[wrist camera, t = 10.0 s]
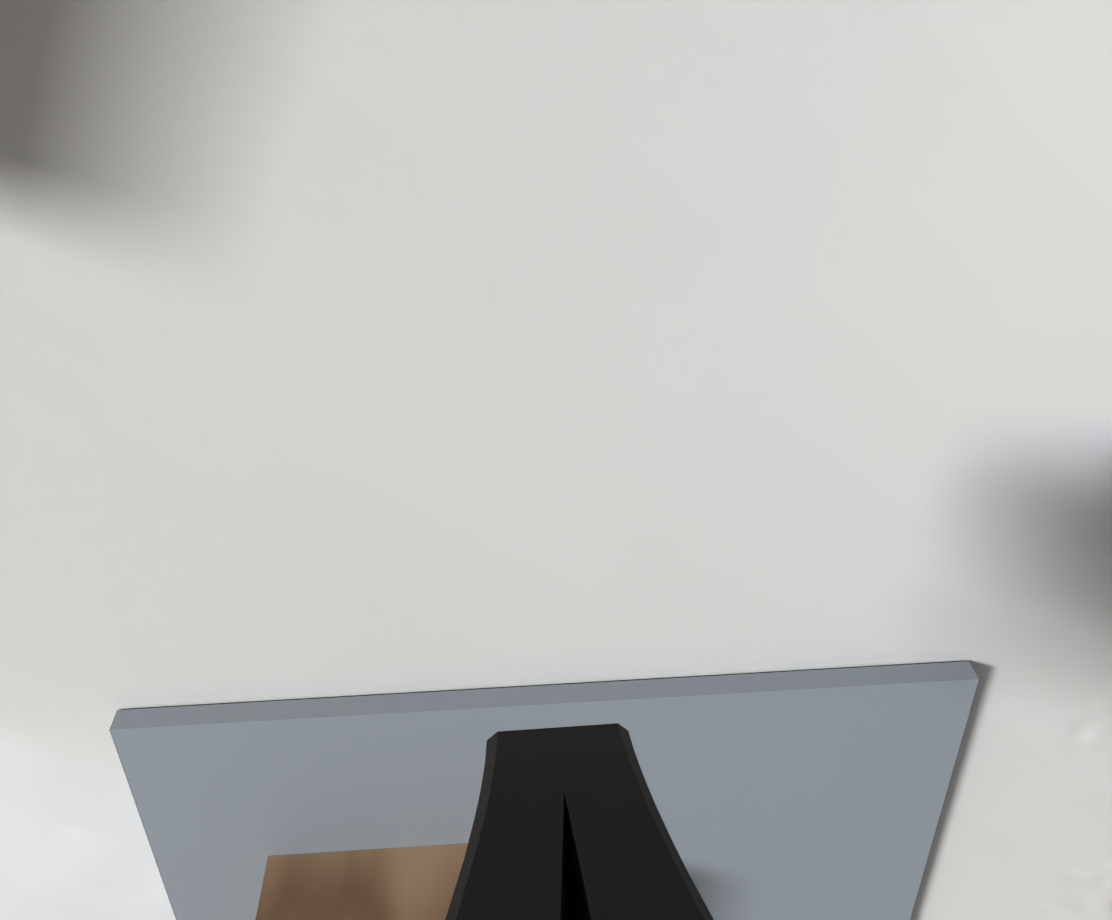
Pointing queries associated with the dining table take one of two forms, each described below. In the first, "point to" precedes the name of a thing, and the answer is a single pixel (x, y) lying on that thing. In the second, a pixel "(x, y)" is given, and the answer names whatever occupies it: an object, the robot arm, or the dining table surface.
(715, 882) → the light grey mat
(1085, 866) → the dining table surface
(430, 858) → the walnut block
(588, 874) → the robot arm
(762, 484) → the dining table surface
